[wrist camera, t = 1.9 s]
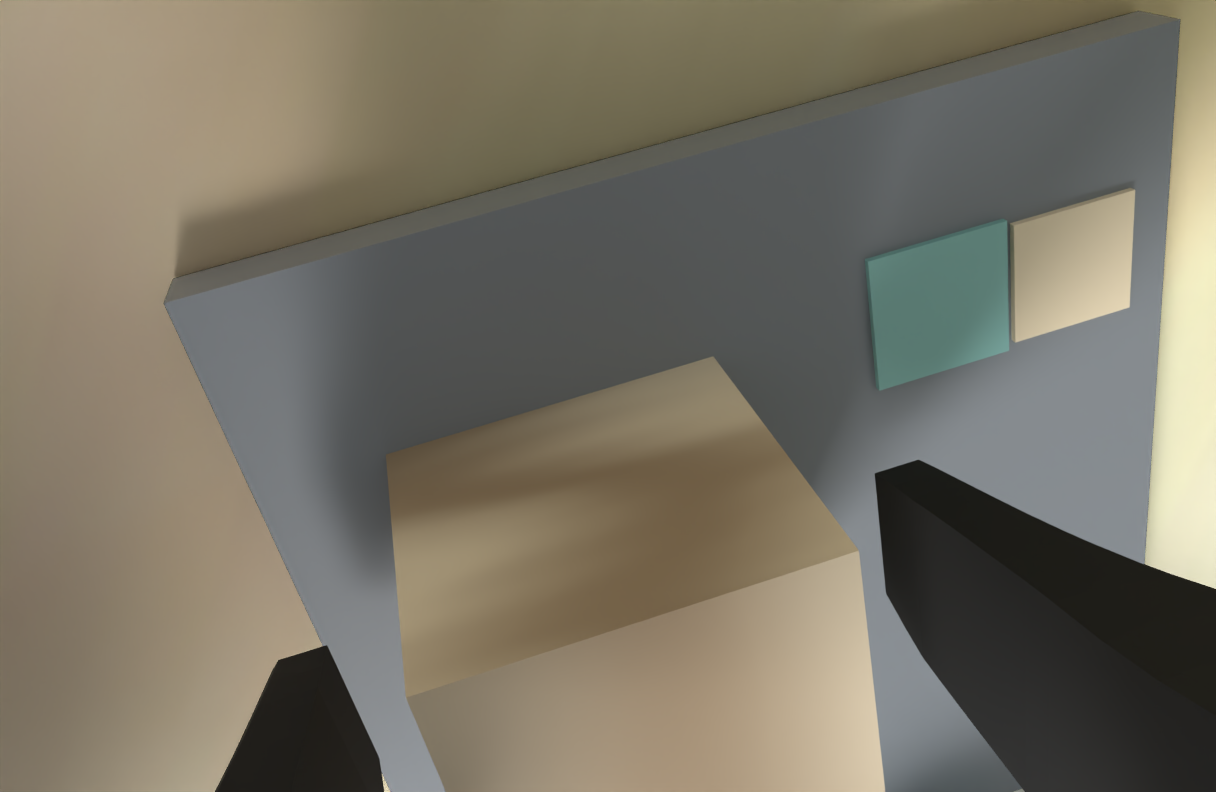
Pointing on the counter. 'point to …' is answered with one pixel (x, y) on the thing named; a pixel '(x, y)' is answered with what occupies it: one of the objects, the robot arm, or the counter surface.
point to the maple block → (631, 601)
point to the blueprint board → (742, 334)
